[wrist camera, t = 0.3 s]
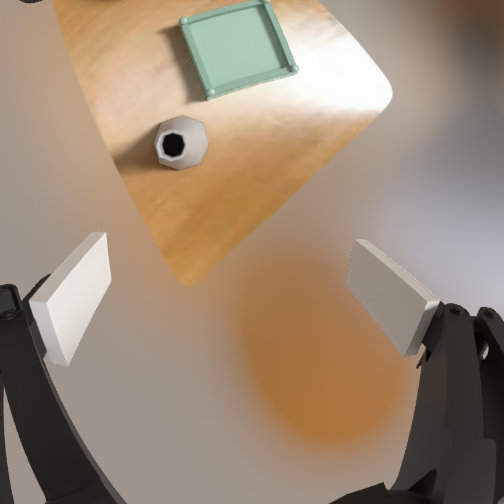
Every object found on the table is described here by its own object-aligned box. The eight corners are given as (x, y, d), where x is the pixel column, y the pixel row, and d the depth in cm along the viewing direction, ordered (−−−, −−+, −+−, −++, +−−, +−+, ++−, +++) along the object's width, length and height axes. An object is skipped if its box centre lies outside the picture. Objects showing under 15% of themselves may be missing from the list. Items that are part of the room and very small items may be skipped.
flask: (155, 115, 33) (136, 109, 23) (211, 116, 34) (212, 109, 25) (153, 170, 35) (134, 182, 26) (207, 170, 36) (207, 183, 27)
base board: (178, 25, 28) (177, 18, 25) (265, 2, 28) (269, -6, 25) (207, 100, 33) (207, 98, 30) (295, 74, 33) (301, 71, 30)
